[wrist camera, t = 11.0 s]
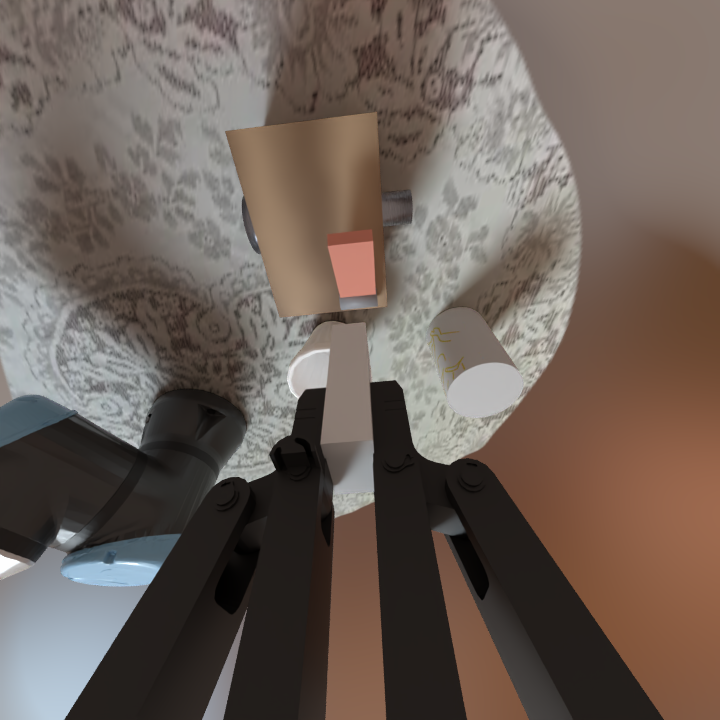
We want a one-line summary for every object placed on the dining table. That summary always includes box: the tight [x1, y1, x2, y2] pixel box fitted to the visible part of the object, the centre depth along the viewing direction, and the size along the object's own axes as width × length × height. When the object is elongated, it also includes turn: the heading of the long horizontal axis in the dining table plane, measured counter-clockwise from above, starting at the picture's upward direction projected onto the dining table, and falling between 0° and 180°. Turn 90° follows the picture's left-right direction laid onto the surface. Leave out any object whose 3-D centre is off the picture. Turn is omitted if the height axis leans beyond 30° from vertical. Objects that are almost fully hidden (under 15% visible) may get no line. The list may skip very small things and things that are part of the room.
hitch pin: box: [242, 190, 413, 254], centre depth 29 cm, size 15×5×5 cm, turn 96°
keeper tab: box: [327, 229, 378, 310], centre depth 24 cm, size 3×8×2 cm
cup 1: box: [287, 321, 372, 399], centre depth 40 cm, size 10×10×9 cm
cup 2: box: [426, 307, 524, 418], centre depth 39 cm, size 8×8×12 cm
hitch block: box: [225, 112, 387, 317], centre depth 29 cm, size 10×14×11 cm
